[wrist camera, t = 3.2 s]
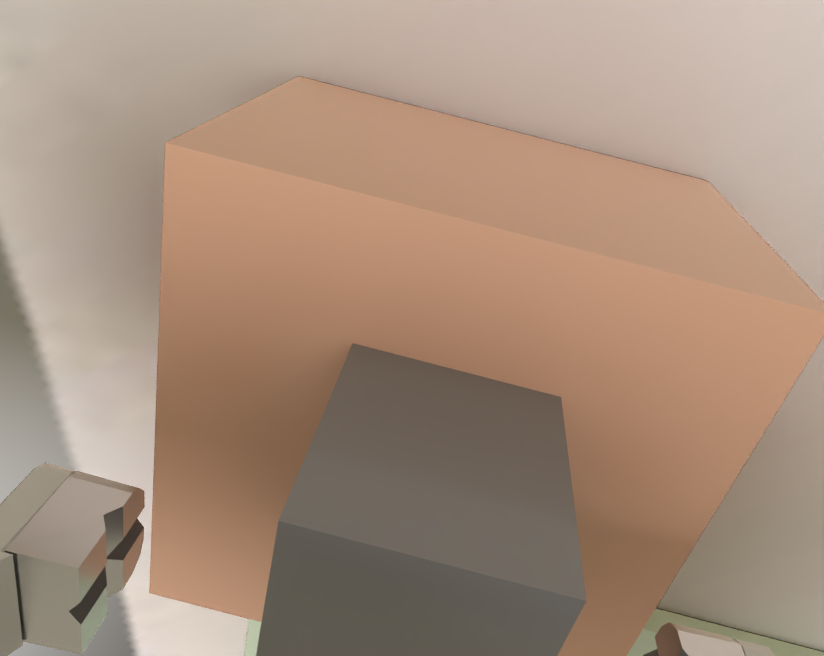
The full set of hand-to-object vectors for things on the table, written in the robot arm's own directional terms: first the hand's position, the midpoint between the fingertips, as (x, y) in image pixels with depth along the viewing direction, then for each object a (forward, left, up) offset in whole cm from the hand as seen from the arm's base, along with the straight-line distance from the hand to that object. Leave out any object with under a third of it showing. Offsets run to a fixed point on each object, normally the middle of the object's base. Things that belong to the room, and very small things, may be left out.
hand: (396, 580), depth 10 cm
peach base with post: (0, 0, -9) cm, 9 cm away
